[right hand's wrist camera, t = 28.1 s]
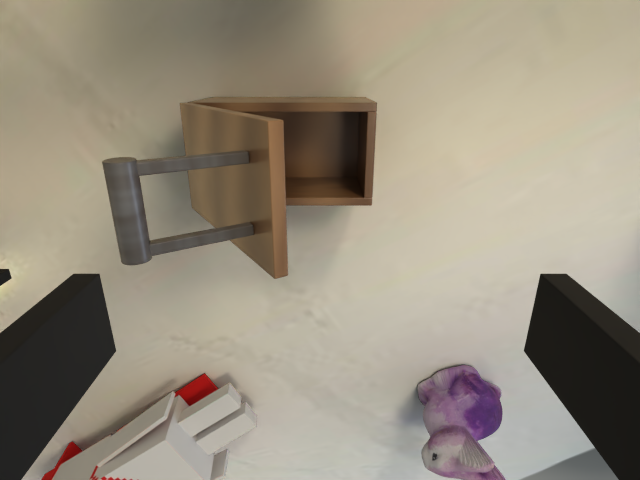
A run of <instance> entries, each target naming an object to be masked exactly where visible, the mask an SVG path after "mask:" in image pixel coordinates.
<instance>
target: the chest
mask: <svg viewBox="0 0 640 480" xmlns="http://www.w3.org/2000/svg"><path fill="white" fill-rule="evenodd" d="M188 103H194V104H200V105H205V106H210V107H216V108H221V109H226V110H232V111H237V112H243V113H248V114H253V115H259V116H264V117H269V118H275V119H280V120H283V126H284V159H285V192H286V205H372V193H373V172H374V151H375V131H376V110H377V103H376V102H374V101H372V100H370V99H368V98H366V97H211V98H207V99H202V100H197V101H192V102H188Z"/></svg>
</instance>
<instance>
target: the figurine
mask: <svg viewBox="0 0 640 480" xmlns="http://www.w3.org/2000/svg"><path fill="white" fill-rule="evenodd" d="M417 390H418V395H419V400H421V402H422V404H423V405H424V406H425V408H424V411H423V419H424V423H425V426H426V428H427V430H428V432H429V435H430V439H429V440H428V442H427V443H426V444H425V445H424V447H423V449H422V452H421V454H422V459H423V462H424V465H425V467H426V468H427V469H428V470H430V471H432V472H434V473H436V474H438V475H440V476H443V477H448V478H457V479H463V480H506V479H505V478H504V476H503V475H502V474H501V473H500V471H499V470H498V469H497V468H496V466H495V465H494V462H493V461H492V459H491V458H490V457H489V456H488V454H487V453H486V452H485V451H484V449H483V448H482V447H481V446H480V444H479V443H478V442H477V441H478V440H481V439H483V438H486V437H487V436H489V435H491V434H493V433H494V432H495V431H496V430H497V429H498V428H499V426H500V424H501V421H502V406H501V402H500V400H499V399H500V397H501V395H502V392H501V389H500V388H499V387H498V386H496V385H494V384H491V383H488V382H486V381H484V380H482V379H481V377H480V375H479V373H478V372H477V370H476V369H475V368H473V367H471V366H467V365H460V366H456V367H451V368H447V369H444V370H441V371H438V372H437V373H435V374H434V375H433V376H432V377H431V378H429V379H427V380H425V381H422V382H421V383H420V384H418V387H417Z"/></svg>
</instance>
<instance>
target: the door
mask: <svg viewBox="0 0 640 480" xmlns="http://www.w3.org/2000/svg"><path fill="white" fill-rule="evenodd" d="M180 109H181V118H182V126H183V135H184V144H185V152H186V156H178V157H167V158H157V159H146V160H136V159H135V158H131V157H119V158H111V159H106V160H104V161H103V162H102V163H103V169H104V174H105V179H106V184H107V189H108V195H109V200H110V205H111V210H112V216H113V221H114V226H115V231H116V236H117V242H118V247H119V252H120V257H121V262H122V263H123V264H125V265H138V264H143V263H146V262H148V261H149V260H151V259H152V256H154V255H158V254H163V253H168V252H173V251H178V250H183V249H188V248H193V247H197V246H202V245H207V244H212V243H217V242H222V241H227V240H230V241H231V242H232V243H234V244H235V245H236V246H237V247H238V248H239V249H241V250H242V251H243V252H244V253H245V254H246V255H247V256H249V257H250V258H251V259H252V260H253V261H254V262H256V263H257V264H258V265H259V266H260V267H261V268H263V269H264V270H265V271H266V272H267V273H268V274H270V275H271V276H272V277H273V278H274V279H276V278H280V277H284V276H287V275H288V257H287V224H286V192H285V159H284V126H283V120H280V119H275V118H269V117H264V116H259V115H253V114H248V113H243V112H237V111H232V110H226V109H221V108H216V107H210V106H205V105H200V104H194V103H180ZM186 170H188V178H189V186H190V195H191V203H192V208H193V209H194V210H195V211H196V212H198V213H199V214H200V215H201V216H202V217H203V218H205V219H206V220H207V221H208V222H209V223H210V224H211V225H213V226H214V227H215V228H214V229H209V230H204V231H198V232H193V233H188V234H182V235H177V236H172V237H166V238H161V239H156V240H149V234H148V228H147V221H146V215H145V209H144V203H143V196H142V190H141V184H140V178H139V176H142V175H150V174H159V173H168V172H177V171H186Z"/></svg>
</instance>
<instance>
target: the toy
mask: <svg viewBox="0 0 640 480" xmlns="http://www.w3.org/2000/svg"><path fill="white" fill-rule="evenodd" d="M255 427H257V414H256V413H255V412H254V411H253V410H252V409H251V407H250V406H249V405H248V404H247V403H246V402H244V403H243V404H241V395H240V394H239V393H238V392H237V391H236V389H235V388H234V387H233V386H232V385H231V383H230V382H229V383H228V384H226V385H224V386H223V387H221V388H219V389H218V388H217V387H216V386H215V384H214V383H213V382H212V381H211V380H210V379H209V378H208V377H207V376H206V374H205V373H204V374H203V375H201V376H200V377H198V378H197V379H195V380H194V381H192V382H191V383H189V384H188V385H186V386H185V387H183V388H181V389H180V390H178V391H177V392H175V393H174V392H173V391H172V392H171V393H169V394H168V395H167V396H165V397H164V398H162V399H161V400H160V401H158V402H157V403H156V404H154V405H153V406H152V407H150V408H149V409H147V410H146V411H145V412H143V413H142V414H141V415H139V416H138V417H137V418H135V419H134V420H132V421H131V422H130V423H128V424H126V425H125V426H123V427H122V428H120V429H119V430H117V432H116V433H115V434H113V435H112V434H110V435H109V436H107V437H105V438H104V439H102V440H101V441H99V442H97V443H96V444H94V445H92V446H91V447H89V448H87V449H86V450H84V451H82V450H81V449H80V448H79V447H78V446H77V445H76V444H74V443H73V442H71V443H69V445H68V446H67V448H66V450H65V451H64V453H63V455H62V456H61V458H60V460H59V461H58V463H57V465H56V466H55V468H54V469H53V470H51V471H49V472H48V473H46V474H45V475H44V476H43V478H42V480H222V479H224V478H225V475H226V469H227V463H228V456H229V451H228V449H226V450H224V451H222V452H220V453H218V454H216V455H214V453H215V451H217V450H218V449H220V448H222V447H223V446H225V445H227V444H228V443H230V442H232V441H234V440H235V439H237V438H239V437H240V436H242V435H244V434H245V433H247V432H249V431H250V430H252V429H254V428H255Z"/></svg>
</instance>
